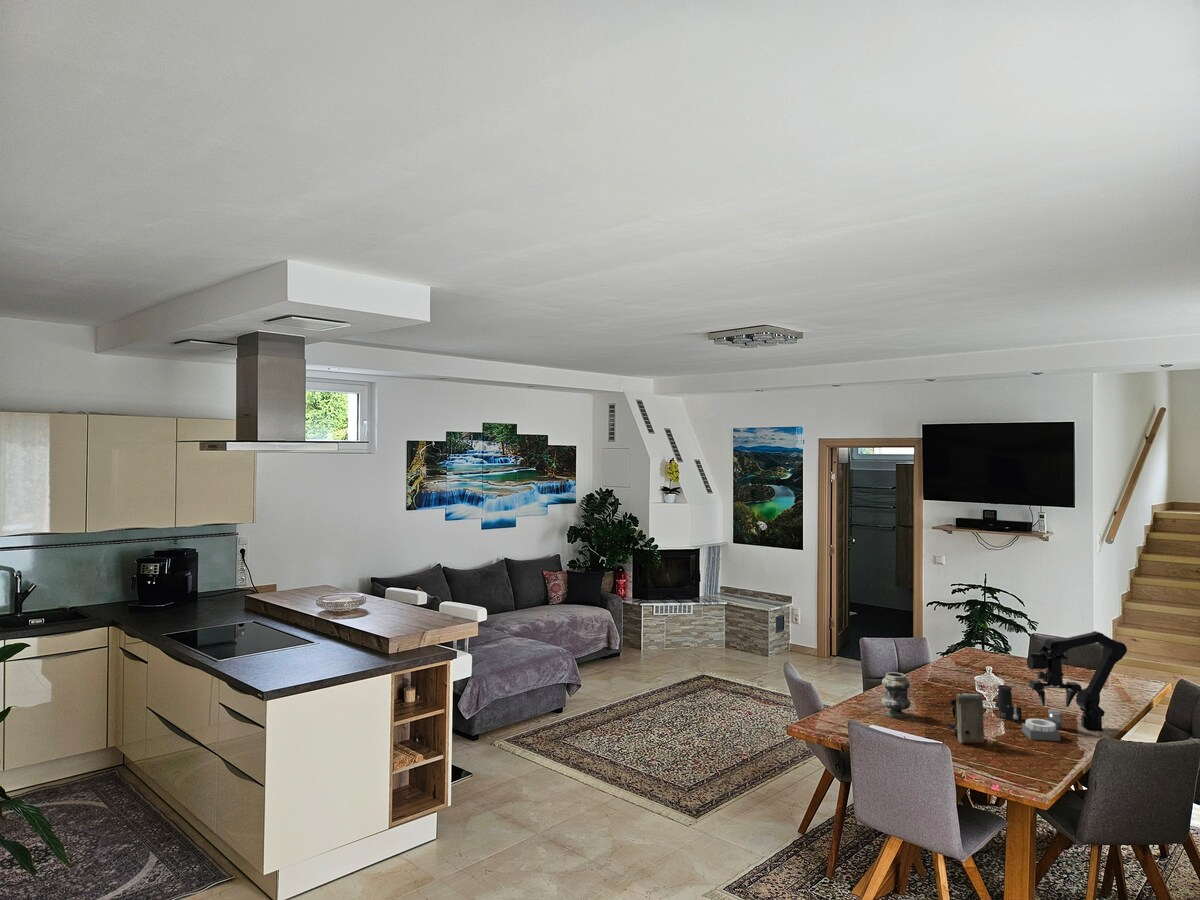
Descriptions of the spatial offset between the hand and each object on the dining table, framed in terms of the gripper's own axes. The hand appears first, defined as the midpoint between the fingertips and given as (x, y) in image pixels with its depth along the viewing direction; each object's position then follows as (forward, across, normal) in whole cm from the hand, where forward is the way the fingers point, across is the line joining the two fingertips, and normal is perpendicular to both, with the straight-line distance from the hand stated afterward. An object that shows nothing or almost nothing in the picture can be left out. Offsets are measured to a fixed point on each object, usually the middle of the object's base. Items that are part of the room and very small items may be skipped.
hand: (1055, 706), depth 333 cm
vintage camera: (+9, +42, +21) cm, 48 cm away
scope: (+9, +16, -9) cm, 21 cm away
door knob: (+9, 0, 0) cm, 9 cm away
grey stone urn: (+9, +63, -6) cm, 64 cm away
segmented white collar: (+9, +10, +12) cm, 18 cm away
